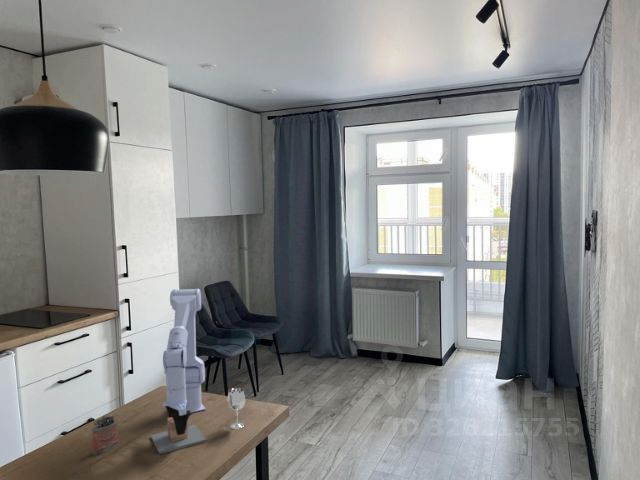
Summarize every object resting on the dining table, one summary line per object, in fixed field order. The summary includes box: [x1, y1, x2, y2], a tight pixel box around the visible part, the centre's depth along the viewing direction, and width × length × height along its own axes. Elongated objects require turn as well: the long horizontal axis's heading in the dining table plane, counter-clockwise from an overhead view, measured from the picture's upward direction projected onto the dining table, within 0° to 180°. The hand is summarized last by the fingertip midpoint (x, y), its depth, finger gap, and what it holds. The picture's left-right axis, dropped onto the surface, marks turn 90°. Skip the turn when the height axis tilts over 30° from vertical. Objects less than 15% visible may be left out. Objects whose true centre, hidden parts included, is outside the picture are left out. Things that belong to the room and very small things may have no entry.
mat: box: [150, 424, 207, 455], centre depth 151 cm, size 12×14×1 cm
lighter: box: [91, 414, 120, 456], centre depth 146 cm, size 8×3×10 cm, turn 145°
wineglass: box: [226, 387, 246, 430], centre depth 159 cm, size 6×6×12 cm
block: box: [167, 417, 188, 442], centre depth 151 cm, size 4×5×6 cm
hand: (177, 429), depth 151 cm, fingers open, 7 cm apart
